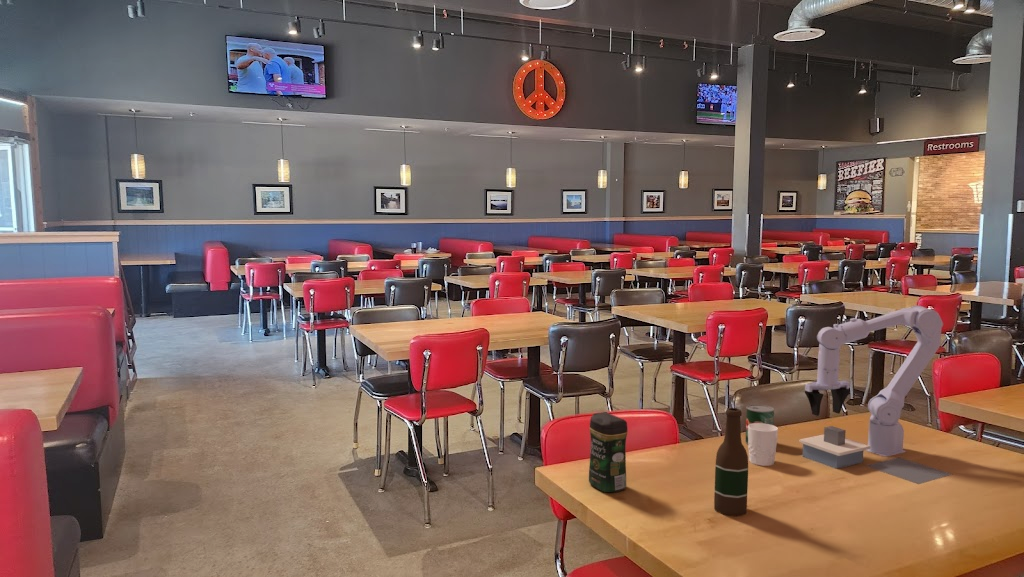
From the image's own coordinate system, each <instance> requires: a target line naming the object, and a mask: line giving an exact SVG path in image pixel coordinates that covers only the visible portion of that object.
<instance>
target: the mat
mask: <svg viewBox="0 0 1024 577" xmlns="http://www.w3.org/2000/svg"><path fill="white" fill-rule="evenodd" d="M865 467H867V468H870V469H873V470H876V471H878V472H882V473H885V474H887V475H891V476H893V477H896V478H899V479H902V480H905V481H908V482H911V483H913V484H916V485H921V484H924V483H927V482H930V481H935V480H939V479H941V478H945V477H950V476H952V475H953V473H950V472H948V471H944V470H940V469H937V468H934V467H931V466H928V465H926V464H921V463H919V462H916V461H912V460H909V459H905V458H903V457H895V458H891V459H886V460H882V461H878V462H875V463H870V464H866V465H865Z"/></svg>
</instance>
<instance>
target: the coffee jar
mask: <svg viewBox="0 0 1024 577" xmlns="http://www.w3.org/2000/svg"><path fill="white" fill-rule="evenodd" d="M589 434H590V450H589V451H590V453H589V456H590V457H589V465H588V467H589V469H588V483H589V484H590V485H591V486H592V487H594V488H595V489H598V490H600V491H601V492H604V493H619V492H620V491H623V490H625V489H626V487H627V466H626V465H627V462H626V457H627V456H626V452H627V451H626V443H627V437H628V422H627V420H625V419H623V418H621V417H619V416H616V415H614V414H611V413H608V412H607V411H601V412H596V413H593V414H592V416H591V417H590V422H589Z"/></svg>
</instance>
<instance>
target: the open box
mask: <svg viewBox="0 0 1024 577" xmlns="http://www.w3.org/2000/svg"><path fill="white" fill-rule="evenodd" d="M864 451H865V450H863V451H859V452H854V453H850V454H846V455H841V456H837V455H835V454H832V453H829V452H826V451H823V450H820V449H817V448H814V447H811V446H808V445H805V444H802V457H803V458H805V459H808V460H811V461H813V462H816V463H818V464H821V465H825V466H827V467H830V468H833V469H835V470H836V469H837V470H839V469H841V468H846V467H851V466H853V465H855V466H856V465H858V464H862V463H863V462H864Z"/></svg>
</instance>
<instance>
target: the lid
mask: <svg viewBox="0 0 1024 577" xmlns="http://www.w3.org/2000/svg"><path fill="white" fill-rule="evenodd" d="M798 443H799V444H802V445H803V444H805V445H808V446H811V447H814V448H817V449H820V450H823V451H826V452H829V453H832V454H835V455H837V456H841V455H846V454H850V453H854V452H859V451H863V450H864V451H866V450H867V449H870V446H869V445H868V444H865V443H862V442H859V441H856V440H852V439H850V438H846V429H843V428H839V427H836V426H833V425H829V426H824V428H823V433H822V434H820V435H814V436H810V437H805V438H801V439H798ZM864 451H863V452H864Z"/></svg>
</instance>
